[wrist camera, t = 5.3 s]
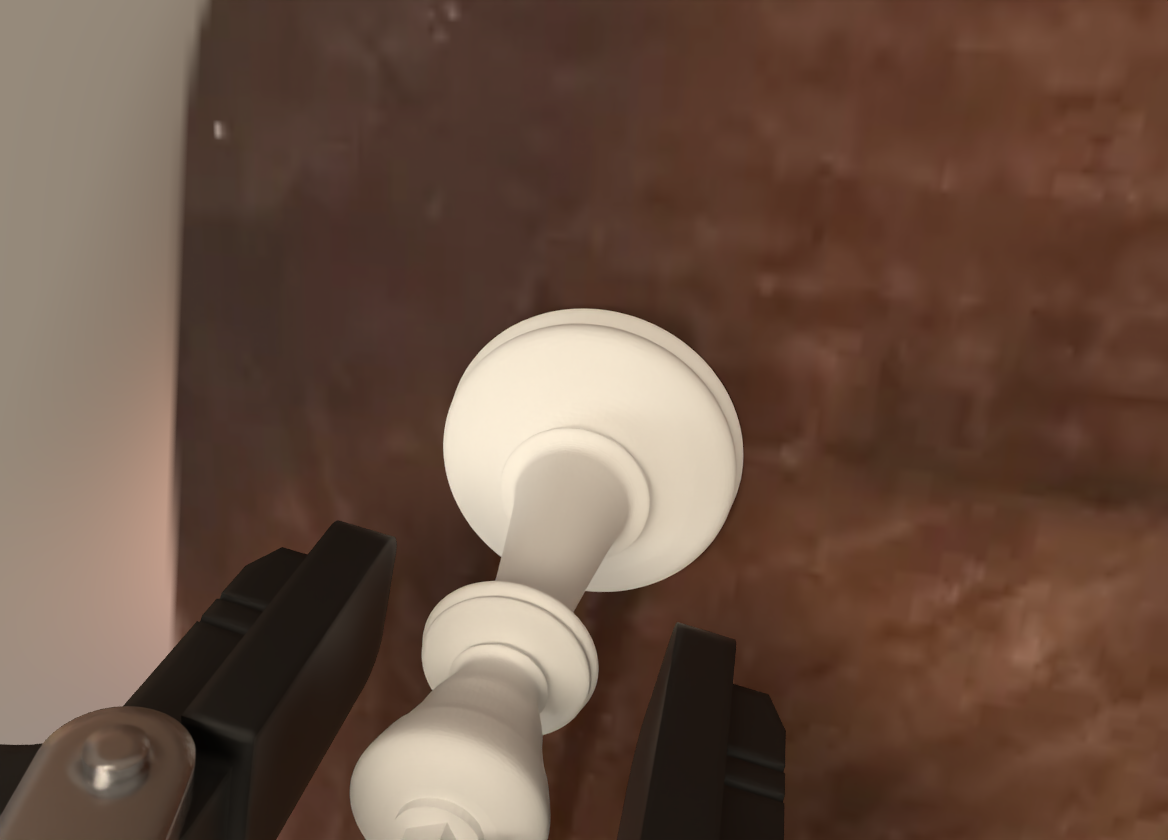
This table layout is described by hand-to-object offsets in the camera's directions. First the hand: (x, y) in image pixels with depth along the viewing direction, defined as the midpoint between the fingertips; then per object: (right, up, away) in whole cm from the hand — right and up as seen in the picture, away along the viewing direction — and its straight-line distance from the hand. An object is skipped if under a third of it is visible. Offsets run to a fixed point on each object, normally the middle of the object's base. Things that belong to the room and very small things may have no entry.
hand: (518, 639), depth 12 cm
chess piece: (+1, +2, +5) cm, 5 cm away
